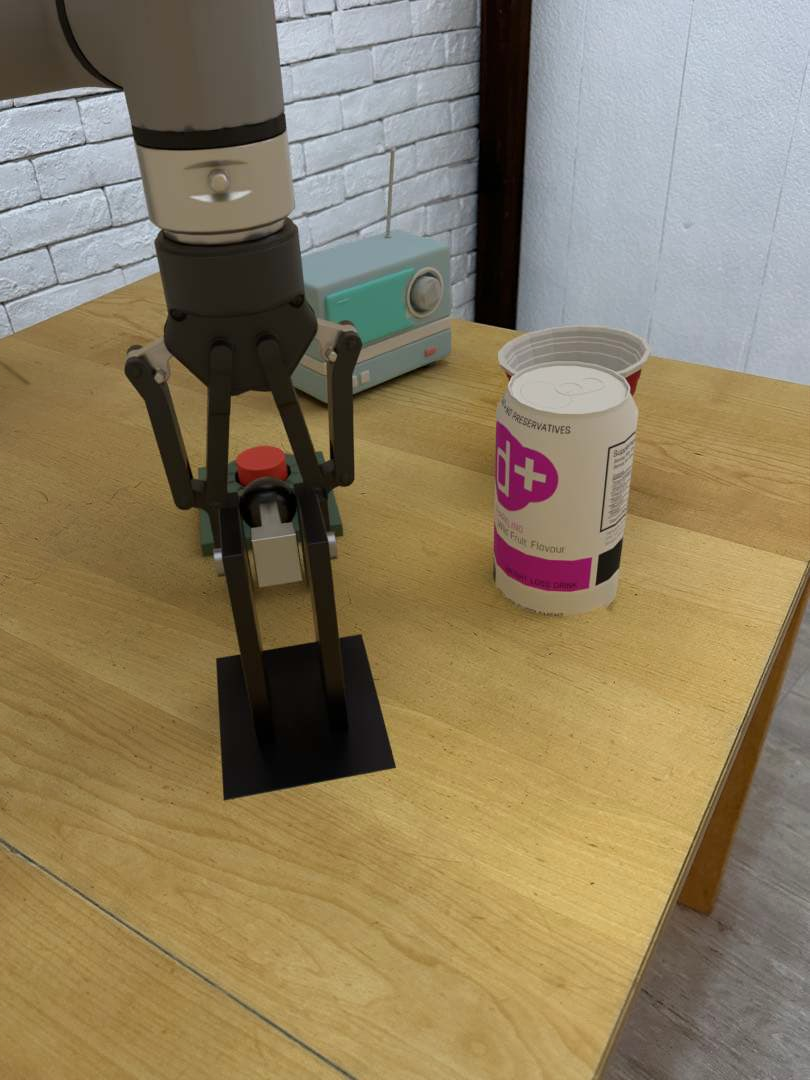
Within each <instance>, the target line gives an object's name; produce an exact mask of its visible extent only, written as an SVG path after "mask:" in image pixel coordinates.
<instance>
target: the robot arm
mask: <svg viewBox="0 0 810 1080" xmlns="http://www.w3.org/2000/svg"><path fill="white" fill-rule="evenodd" d="M279 49H280V48H279V38H278V29H277V18H276V8H275V0H0V102H3V101H9V100H14V99H21V98H27V97H32V96H33V97H34V96H38V95H44V94H50V93H51V94H52V93H56V92H57V93H58V92H60V91H68V90H73V89H83V88H85V89H86V88H101V89H113V90H120V91H123V92H124V98H125V102H126V107H127V112H128V117H129V120H130V121H129V122H130V126H131V132H132V137H133V143H134V148H135V152H136V158H137V163H138V168H139V173H140V178H141V183H142V189H143V193H144V198H145V204H146V208H147V209H146V210H147V213H148V218H149V222H150V223H152V224H153V225H154V226H156V227H157V228H158V229H159V230H160V231H158V233H157V236H156V237H155V239H154V241H153V243H154V249H155V255H156V258H157V259H156V260H157V264H158V269H159V275H160V279H161V285H162V289H163V295H164V299H165V300H164V301H165V304H166V310H167V317H166V319H165V323H164V326H163V335H161V336H160V337H158V338H156V339H155V340H153V341H151V342H149V343H147V344H146V345H144V346H143V345H140V344H133V345H130V346H129V347H128V348H127V350H126V352H125V361H124V375H125V377H126V379H127V380H128V381H129V383H130V384H131V385H132V387H133V388H134V389H135V390H136V392H137V393H138V395H139V396H140V397H141V398H142V399H143V401H144V404H145V407H146V411H147V415H148V418H149V421H150V425H151V428H152V431H153V434H154V439H155V442H156V445H157V448H158V452H159V455H160V458H161V462H162V465H163V469H164V472H165V476H166V479H167V482H168V485H169V489H170V493H171V496H172V499H173V502H174V505H175V507H176V508H177V509H179V510H181V511H188V510H191V509H192V508H193V509H199V510H200V509H202V510H204V511H205V512H207V514H208V516H209V520H210V525H211V530H212V535H213V540H214V545H215V548H216V549H218V548H221V540H220V525H219V511H218V509H219V508H224V507H231V506H238V507H239V497H238V492H231V493H227V480H228V464H229V452H230V451H229V450H230V449H229V448H230V422H231V421H230V419H231V407H232V397H238V396H239V395H243V394H245V393H248V392H250V391H252V392H261V393H268V392H271V395H272V396H273V400H274V403H275V406H276V408H277V410H278V413H279V415H280V416H279V417H280V419H281V422H282V425H283V428H284V430H285V433H286V436H287V439H288V442H289V445H290V447H291V450H292V453H293V455H294V456H295V459H296V462H297V465H298V468H299V471H300V474H301V476H302V479H303V482H302V483H295V484H293V486H294V493H295V497H296V503H297V516H298V523H299V531H300V539H301V542H300V544H301V552H302V561H303V568H304V572H305V577H306V582H307V587H308V589H309V582H308V574H307V566H306V558H305V550H304V543H303V535H302V527H301V519H300V511H299V503H298V497H300V496H307V495H314V494H317V496H318V500H319V504H320V508H321V512H322V516H323V520H324V525H325V529H326V532H330V530H331V529H330V520H329V511H328V502H327V501H328V494H329V492H330V491H331V490H333V491H334V490H335V489H336V488H339V487H341V488H346V487H349V486H351V485H353V483H354V481H355V477H356V475H355V474H356V473H355V472H356V471H355V430H354V429H355V428H354V427H355V426H354V394H353V378H352V374H353V371H354V369H355V366H356V363H357V360H358V357H359V354H360V352H361V349H362V341H361V338H360V336H359V334H358V332H357V329H356V327H355V325H354V324H353V322H351V321H349V320H343V321H341V322H339V323H338V324H337V323H333V322H330V321H326V320H323V319H319V318H316V316H315V312H314V310H313V308H312V307H311V306H310V304H309V303H308V301H307V299H306V295H305V287H304V278H303V269H302V259H301V257H302V251H301V243H300V241H301V240H300V233H299V227H298V225H297V224H296V223H295V222H294V221H293V220H292V218H290V217H289V216H290V215H291V214H292V213H293V211H294V210H295V209H296V198H295V188H294V180H293V179H294V178H293V170H292V162H291V152H290V144H289V136H288V135H289V134H288V127H287V117H286V114H285V111H286V108H285V98H284V88H283V78H282V69H281V58H280V50H279ZM313 339H314V340H316V341H317V342H319V350H320V353H321V356H322V358H323V359H324V360H325V361H327V366H326V368H327V394H328V403H327V417H328V441H329V442H328V445H329V459H328V460H325V462H324V463H322V464H319V461H318V458H317V455H316V452H317V451H316V448H315V447H314V446H315V445H314V443H313V440H312V438H311V434H310V431H309V428H308V425H307V422H306V419H305V416H304V413H303V410H302V406H301V404H300V401H299V397H298V395H297V392H296V389H295V387H294V386H293V382H292V379H291V376H292V374H293V373H294V371H295V369H296V368H297V366H298V364H299V362H300V361H301V359H302V357H303V356H304V354H305V352H306V351H307V349H308V347H309V346H310V344H311V342H312V341H313ZM173 357H174V359H176V361H178V362H179V363H180V364H181V365H182V366H183V367H185V368H186V369H187V370H188V372H190V374H192V375H193V376H194V377H196V379H198V380H199V382H201V383H202V384H203V385H204V386H205V387H206V389H207V390H206V394H207V395H206V396H207V397H206V403H207V404H206V439H205V440H206V442H205V467H206V481H204V480H198V478H194V475H193V471H192V467H191V464H190V460H189V456H188V452H187V448H186V445H185V441H184V438H183V434H182V430H181V427H180V424H179V423H180V422H179V419H178V415H177V413H176V409H175V405H174V402H173V398H172V394H171V391H170V387H169V384H168V381H169V380H170V378H171V364H170V360H171V358H173ZM239 513H240V507H239ZM240 519H241V525H242V530H243V536H244V542H245V548H246V553H247V559H248V565H249V571H250V576H251V582H252V588H253V594H254V595H255V590H254V581H253V573H252V567H251V560H250V555H249V550H248V549H247V543H246V538H245V532H244V526H243V520H242V516H241V513H240Z"/></svg>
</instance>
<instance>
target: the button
mask: <svg viewBox="0 0 810 1080" xmlns="http://www.w3.org/2000/svg"><path fill="white" fill-rule="evenodd" d="M285 453H286V452H285V451H284V450H282V449H281V448H279V447H277V446H272V445H271V446H270V445H259V446H253V447H249V448H247V449H245V450H243V451H241V452H240V453H239V454H238V455H237V456H236V458H235V460H236V464H237V470H238V476H239V481H240V484H241V485H242V486H243V487H246V486H247V485H248V484H249V483H251V482H252V481H254V480H256V479H258V478H262V477H274V478H278V479H280V480H282V481H286V479H287V476H288V473H287V466H286V458H285Z"/></svg>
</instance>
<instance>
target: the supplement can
mask: <svg viewBox="0 0 810 1080" xmlns="http://www.w3.org/2000/svg"><path fill="white" fill-rule="evenodd" d="M495 411H496V412H495V457H494V459H495V461H494V464H495V465H494V504H493V505H494V506H493V507H494V510H493V511H494V513H493V554H492V555H493V559H492V560H493V561H492V562H493V564H492V575H493V576H492V577H493V580H494V585H495V588H496V589H497V591H499V593H500V594H501V595H502V596H503V598H504V599H505V600H506V601H508V602H510V603H511V604H514V605H515V606H517V607H518V608H520V609H522V610H523V611H527V612H531V613H535V614H538V615H542V616H548V617H549V616H550V617H573V616H579V615H583V614H588V613H591V612H593V611H595V610H597V609H599V608H601V607H603V606H604V608H606V609H607V608H608V607H609V606H610V604H611V603H612V602H613V601H614V600H615V599H616V598H617V591H618V588H619V587H618V585H619V579H620V571H621V560H622V554H623V546H624V545H623V544H624V537H625V529H626V519H627V513H628V504H629V497H630V496H629V495H630V487H631V480H632V472H633V463H634V454H635V447H636V437H637V429H638V421H639V413H640V411H639V408H638V407H637V404H636V402H635V400H634V398H633V397H632V396H631V393H630V386H629V384H628V382H627V381H626V379H625V378H624V377H622V376H621V375H619V374H618V373H616V372H615V371H613V370H610V369H607V368H605V367H602V366H599V365H595V364H588V363H582V362H549V363H542V364H537V365H534V366H531V367H528V368H525V369H522V370H521V371H519V372H518V373H516V374H515V375H514V376H512V377H511V379H510V382H509V381H508V384H507V388H506V390H505V392H504V393H503V395H502V396H501V397H500V400H499V402H498V405H497V407H496V409H495Z"/></svg>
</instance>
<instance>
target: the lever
mask: <svg viewBox="0 0 810 1080" xmlns="http://www.w3.org/2000/svg"><path fill="white" fill-rule="evenodd" d="M239 507H240V513H241V516H242V518H243V520H244V521H245V523H246V524H247V525H248V526H249V527H251V529H250V535H251V546H252V549H251V553H252V557H253V564H254V570H255V577H256V582H257V587H258V588H259V589H260V588H266V587H273V586H279V585H284V584H285V585H286V584H291V583H297V582H302V581H304V575H303V569H302V562H301V556H300V549H299V542H298V540H297V534H296V531H295V527H294V523H293V522H291V521H292V520H293V518H294V516H295V513H296V508H297V503H296V497H295V495H294V492H293V491H292V489H291V488H290V487H289V486H288V484H286V483H285V482H284V481H282V480H280V479H278V478H274V477H262V478H258V479H256V480H254V481H252V482H251V483H249V484H248V485H247V486H246V487H245V489H244V490H243V492H242V494H241V497H240V502H239Z"/></svg>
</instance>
